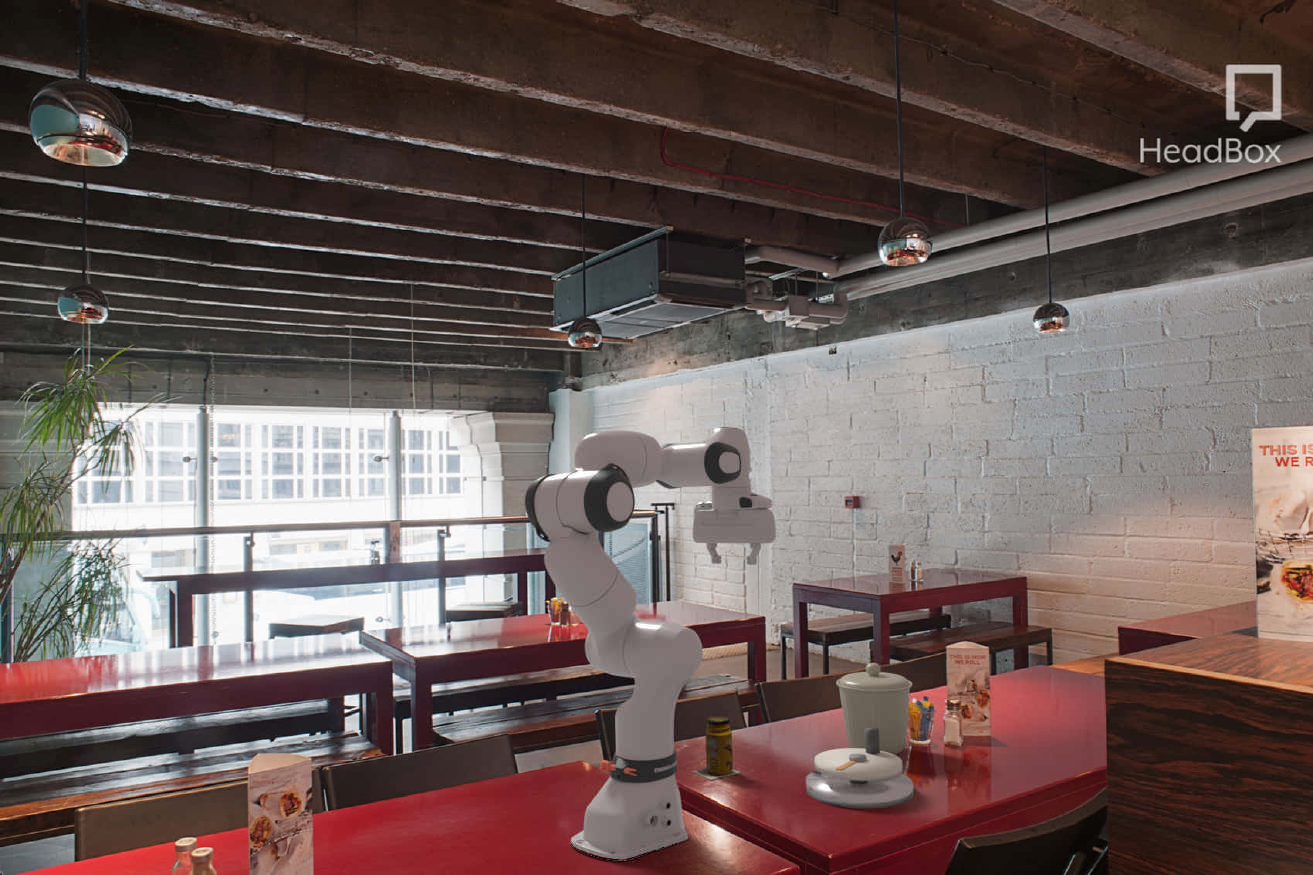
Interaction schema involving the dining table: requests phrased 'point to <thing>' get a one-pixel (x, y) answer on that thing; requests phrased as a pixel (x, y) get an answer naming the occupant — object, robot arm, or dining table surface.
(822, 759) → the handwheel
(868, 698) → the canister
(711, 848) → the dining table surface
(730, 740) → the condiment
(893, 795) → the disc
